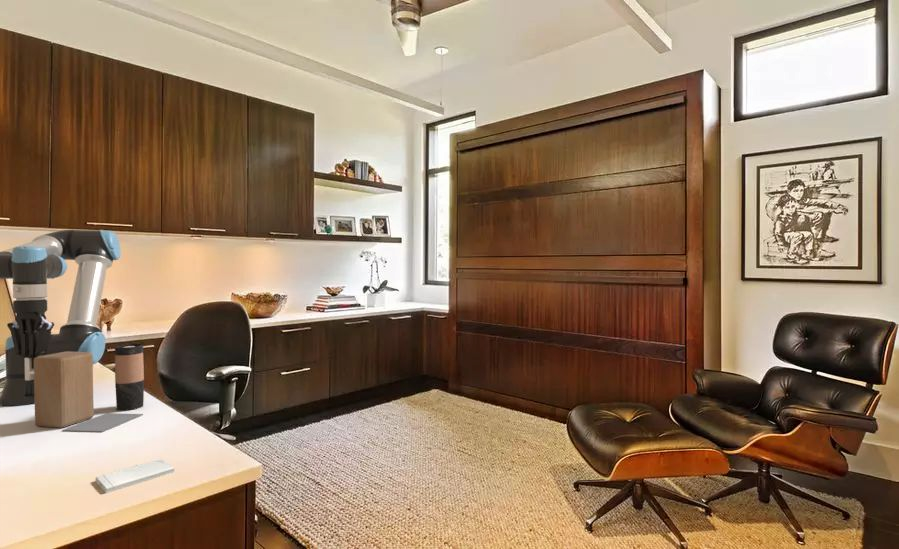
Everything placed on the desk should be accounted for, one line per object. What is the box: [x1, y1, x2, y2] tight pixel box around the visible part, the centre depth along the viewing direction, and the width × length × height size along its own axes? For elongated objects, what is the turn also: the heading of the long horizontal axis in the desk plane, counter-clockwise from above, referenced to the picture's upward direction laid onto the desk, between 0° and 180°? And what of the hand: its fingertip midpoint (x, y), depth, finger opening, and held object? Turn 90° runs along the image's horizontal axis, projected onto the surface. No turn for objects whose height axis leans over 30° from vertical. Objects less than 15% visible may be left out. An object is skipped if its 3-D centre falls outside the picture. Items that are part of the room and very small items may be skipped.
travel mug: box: [114, 343, 145, 412], centre depth 151 cm, size 8×8×20 cm
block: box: [34, 351, 95, 429], centre depth 137 cm, size 10×10×20 cm
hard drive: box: [95, 458, 175, 494], centre depth 101 cm, size 2×8×12 cm
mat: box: [61, 412, 144, 433], centre depth 136 cm, size 12×15×1 cm
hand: (31, 379), depth 137 cm, fingers closed
